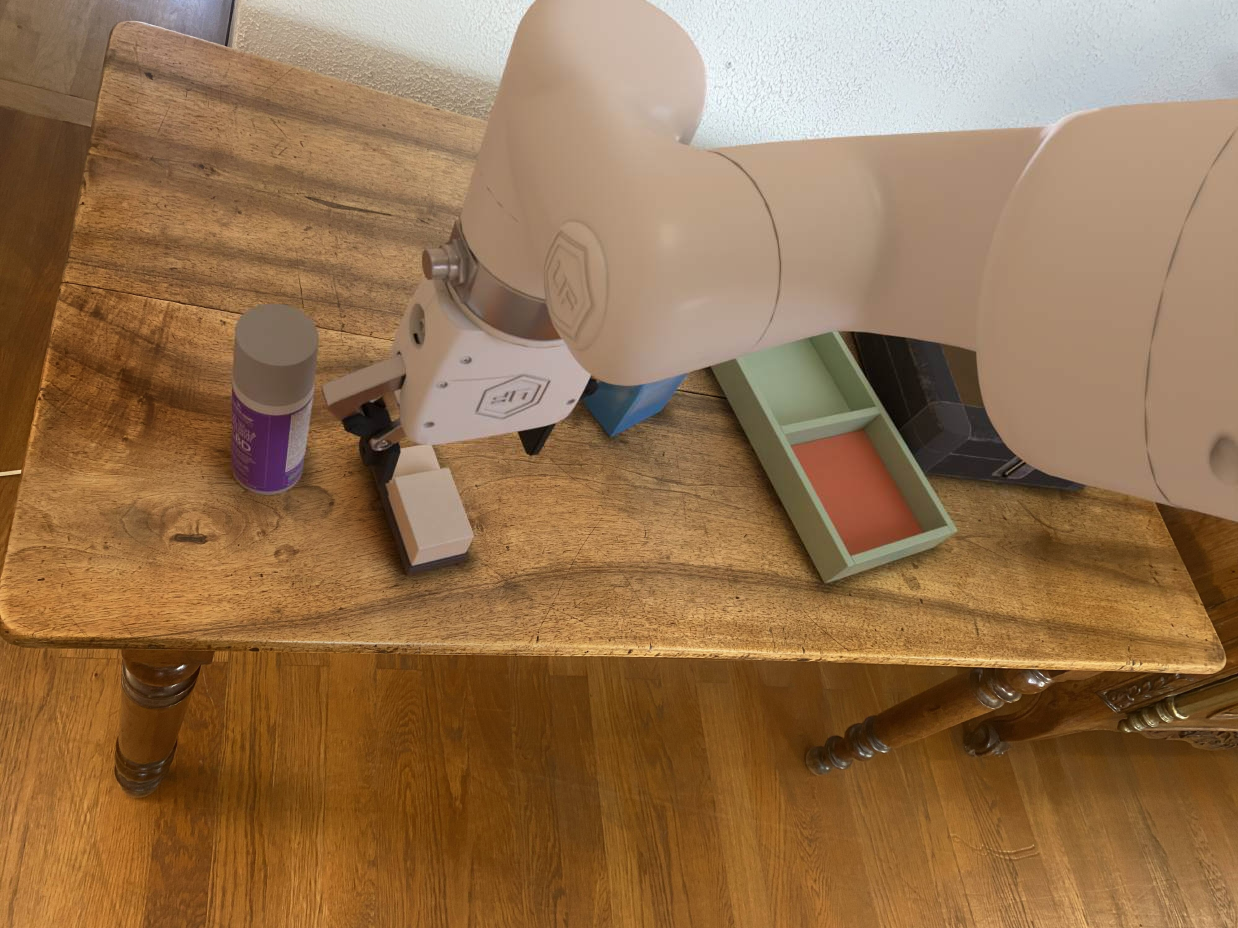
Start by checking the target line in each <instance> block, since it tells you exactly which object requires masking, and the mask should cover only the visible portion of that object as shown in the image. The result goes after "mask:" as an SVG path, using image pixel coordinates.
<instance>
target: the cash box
mask: <svg viewBox="0 0 1238 928" xmlns="http://www.w3.org/2000/svg"><path fill="white" fill-rule="evenodd" d="M852 332H853V336H854V338H855V342H856V346H857V349H858V353H859V356H860V359H861V363H862V366H863V368H864V372H865V375H866V376H865V377H866V379H867V381H868V382H869V384H870V386H871V387H872V389H873V391H874V392H875V394H876V396H877V397H878V399H879V401H880V402H881V404H882V405H883V407H884V409H885V410H886V412H887V414H888V415H889V417H890V419H891V420H892V422H893V424H894V425H895V427H896V429H897V430H898V432H899V434H900V435H901V437H902V439H903V440H904V442H905V444H906V445H907V447H908V449H909V450H910V452H911V454H912V455H913V457H914V459H915V460H916V462H917V464H918V465H919V467H920V469H921V470H922V472H923V474H924V475H931V476H940V477H941V476H942V477H951V478H960V479H961V478H962V479H967V480H977V481H988V482H996V483H1006V484H1014V485H1015V484H1016V485H1023V486H1033V487H1040V488H1042V487H1043V488H1050V489H1051V488H1052V489H1061V490H1071V491H1078V490H1081V489H1083V488H1085V487H1087V486H1088V485H1084V484H1080V483H1077V482H1073V481H1070V480H1066V479H1063V478H1059V477H1056V476H1051V475H1048V474H1046V473H1044V472H1042V471H1040V470H1038V469H1036V468H1034V467H1032V466H1030V465H1028V464H1027V463H1026V462H1024V461H1023V460H1022V459H1021V458H1019V457H1018V456H1017V455H1016V454H1014V453H1013V452H1012V451H1011V450H1010V449H1009V448H1008V447H1007V446H1006V444H1005V443H1004V441H1003V440H1002V439H1001V437H1000V436H999V434H998V432H997V431H996V429H995V428H994V426H993V425H992V423H991V421H990V419H989V417H988V415H987V412H986V409H985V406H984V403H983V400H982V395H981V390H980V386H979V378H978V370H977V357H976V352H975V351H972V350H968V349H964V348H961V347H956V346H952V345H947V344H942V343H936V342H930V341H924V340H918V339H914V338H907V337H899V336H891V335H884V334H877V333H869V332H857V331H852Z"/></svg>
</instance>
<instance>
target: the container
mask: <svg viewBox="0 0 1238 928" xmlns="http://www.w3.org/2000/svg"><path fill="white" fill-rule="evenodd" d="M319 335H320V334H319V330H318V328H317V326H316V324H315V322H314V321H313V320H312V318H311V317H309V316H308V314H306V313H304V312H303V311H301V310H300V309H298V308H296V307H293V306H290V305H287V304H283V303H282V304H281V303H264V304H259V305H256V306H253V307H251V308H249V309H248V310H246V311H245V312H244V313H242V314H241V316H240V317H238V320H237V321H236V324H235V328H234V344H233V345H234V346H233V361H232V374H231V375H232V378H231V452H230V453H231V462H230V463H231V473H232V475H233V477H234V479H235V481H236V482H237V483H238V485H240V486H241V487H242V488H243V489H245V490H247V491H249V492H250V493H253V494H258V495H263V496H272V495H273V496H274V495H278V494H282V493H284V492H287V491H288V490H290V489H292V488H294V486H295V485H296V484H297V483H298V482H299V480H300V479H301V477H302V474H303V470H304V463H305V457H306V450H307V442H308V436H309V430H310V423H311V415H312V409H313V408H312V407H313V401H314V394H315V383H316V376H317V375H316V374H317V363H318V352H319V341H320V336H319Z"/></svg>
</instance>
